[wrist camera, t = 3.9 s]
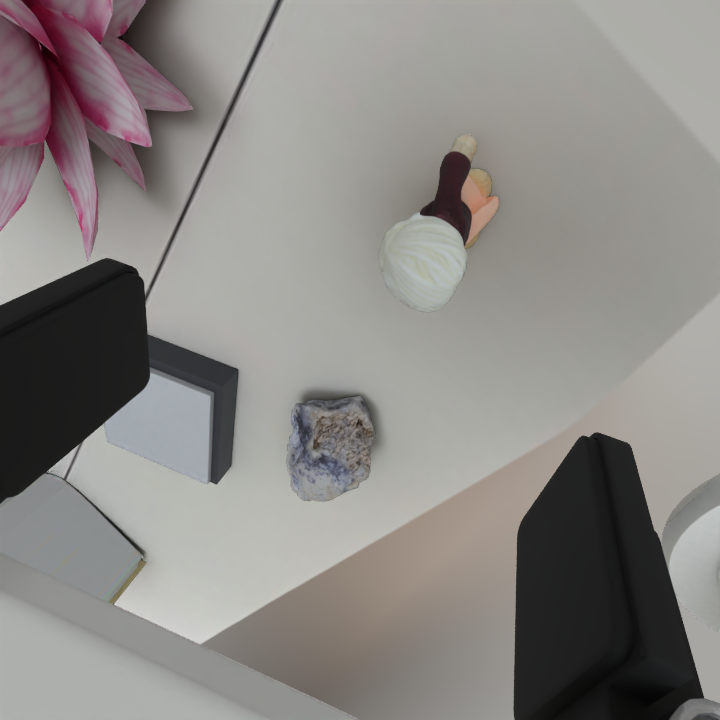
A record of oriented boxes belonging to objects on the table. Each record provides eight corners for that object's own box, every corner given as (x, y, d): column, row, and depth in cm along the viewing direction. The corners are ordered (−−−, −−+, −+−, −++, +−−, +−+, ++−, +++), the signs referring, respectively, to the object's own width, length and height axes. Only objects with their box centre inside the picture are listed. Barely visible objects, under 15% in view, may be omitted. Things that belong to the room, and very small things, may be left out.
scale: (238, 369, 38) (217, 390, 36) (231, 466, 45) (213, 489, 42) (113, 321, 40) (84, 337, 37) (124, 421, 47) (101, 441, 44)
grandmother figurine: (490, 267, 27) (465, 383, 17) (426, 261, 29) (366, 367, 18) (510, 122, 23) (492, 160, 13) (434, 121, 24) (363, 156, 14)
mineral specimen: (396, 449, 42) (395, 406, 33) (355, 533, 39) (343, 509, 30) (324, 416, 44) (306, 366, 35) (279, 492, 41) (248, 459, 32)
